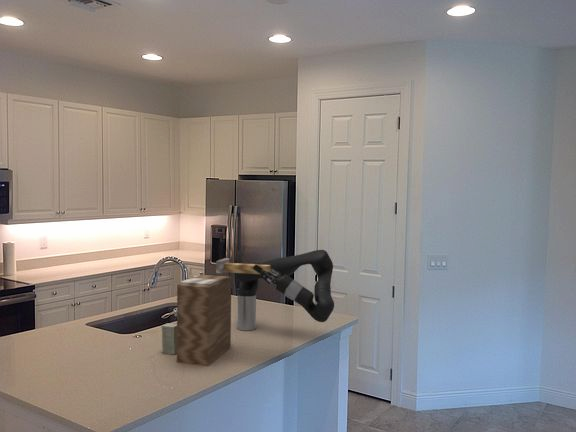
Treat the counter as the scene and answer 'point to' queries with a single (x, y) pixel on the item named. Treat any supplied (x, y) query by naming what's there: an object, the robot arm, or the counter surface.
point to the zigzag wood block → (203, 319)
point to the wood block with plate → (237, 267)
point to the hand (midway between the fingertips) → (255, 265)
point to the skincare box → (169, 338)
